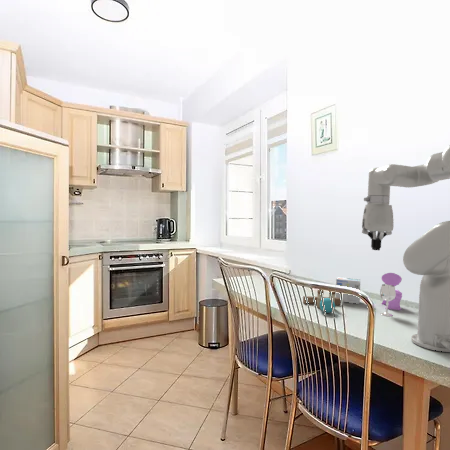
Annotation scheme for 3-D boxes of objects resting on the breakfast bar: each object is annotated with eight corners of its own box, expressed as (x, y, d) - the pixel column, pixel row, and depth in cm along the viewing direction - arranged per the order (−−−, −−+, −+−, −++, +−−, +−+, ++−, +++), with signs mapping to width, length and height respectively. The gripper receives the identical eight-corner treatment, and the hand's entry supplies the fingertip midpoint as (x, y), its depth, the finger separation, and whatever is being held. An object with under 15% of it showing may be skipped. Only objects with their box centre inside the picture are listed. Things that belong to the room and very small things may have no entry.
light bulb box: (359, 301, 157) (360, 278, 157) (359, 304, 151) (360, 281, 151) (335, 298, 161) (336, 276, 161) (334, 301, 155) (336, 278, 155)
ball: (329, 299, 140) (335, 312, 137) (316, 302, 139) (321, 316, 136) (332, 294, 135) (339, 308, 132) (318, 297, 134) (324, 312, 131)
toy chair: (383, 308, 145) (385, 274, 145) (378, 303, 154) (380, 271, 154) (404, 310, 144) (405, 276, 143) (398, 305, 152) (400, 272, 152)
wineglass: (391, 313, 139) (392, 284, 138) (396, 317, 133) (398, 287, 132) (376, 312, 139) (378, 283, 139) (381, 316, 133) (383, 286, 133)
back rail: (340, 305, 148) (340, 298, 148) (303, 303, 148) (304, 297, 148) (338, 304, 150) (338, 297, 150) (302, 302, 150) (303, 296, 150)
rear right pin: (335, 309, 141) (336, 289, 141) (329, 309, 141) (330, 289, 141) (333, 307, 144) (334, 288, 144) (327, 307, 144) (328, 287, 144)
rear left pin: (323, 308, 141) (324, 288, 141) (317, 308, 141) (318, 288, 141) (321, 307, 144) (322, 287, 144) (316, 306, 144) (316, 287, 144)
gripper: (362, 199, 121) (359, 250, 122) (403, 201, 121) (400, 251, 122) (354, 200, 129) (352, 248, 129) (393, 202, 129) (391, 249, 129)
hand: (375, 249), depth 125 cm, fingers closed
